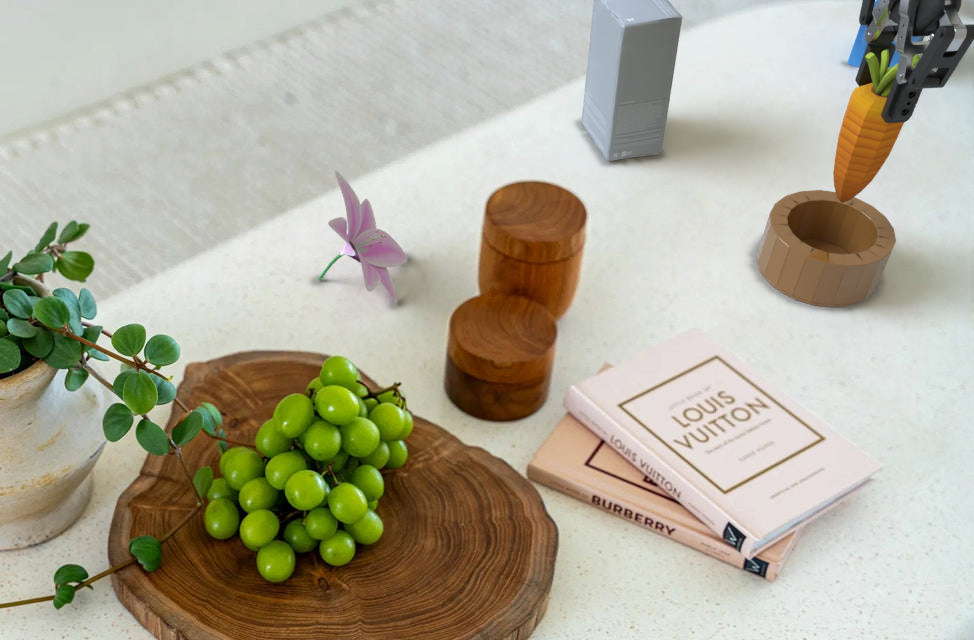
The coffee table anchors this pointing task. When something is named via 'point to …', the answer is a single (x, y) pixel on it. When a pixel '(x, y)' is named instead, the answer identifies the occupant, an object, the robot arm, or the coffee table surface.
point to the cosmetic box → (630, 75)
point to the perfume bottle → (861, 46)
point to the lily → (366, 241)
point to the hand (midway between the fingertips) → (880, 101)
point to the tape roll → (825, 248)
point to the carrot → (866, 131)
